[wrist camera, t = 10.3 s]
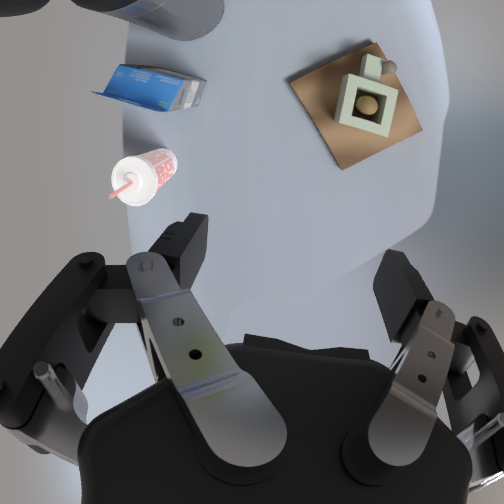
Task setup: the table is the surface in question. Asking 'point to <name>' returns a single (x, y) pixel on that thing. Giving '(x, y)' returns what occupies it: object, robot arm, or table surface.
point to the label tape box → (153, 88)
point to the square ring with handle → (371, 85)
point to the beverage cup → (142, 176)
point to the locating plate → (326, 105)
